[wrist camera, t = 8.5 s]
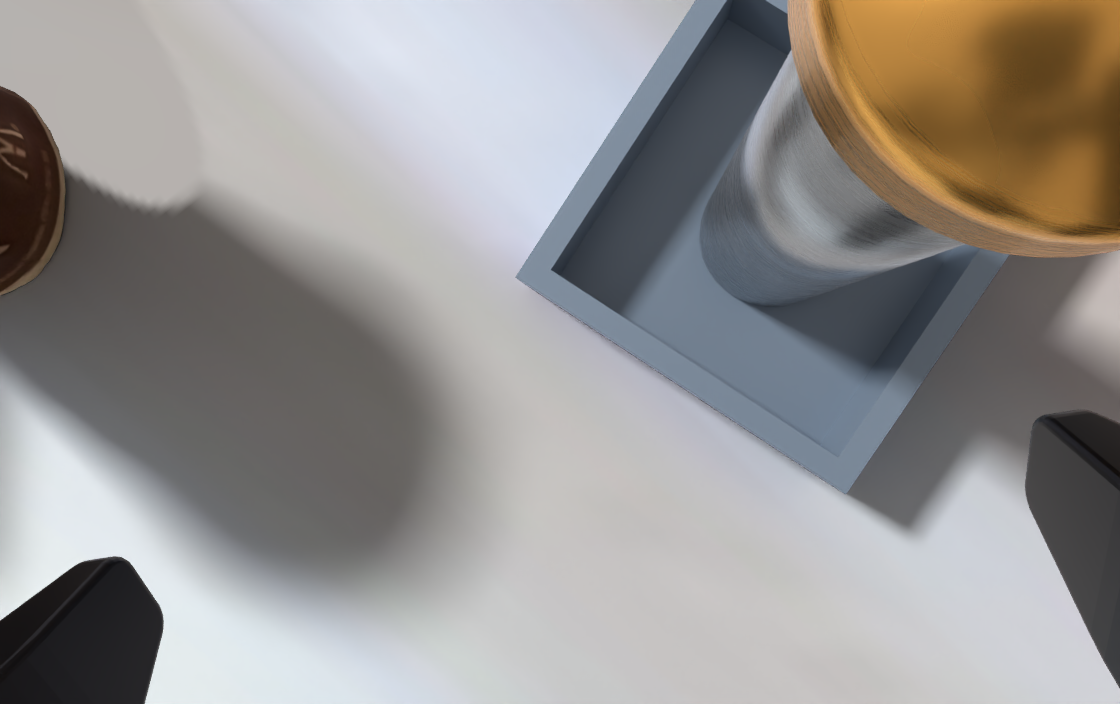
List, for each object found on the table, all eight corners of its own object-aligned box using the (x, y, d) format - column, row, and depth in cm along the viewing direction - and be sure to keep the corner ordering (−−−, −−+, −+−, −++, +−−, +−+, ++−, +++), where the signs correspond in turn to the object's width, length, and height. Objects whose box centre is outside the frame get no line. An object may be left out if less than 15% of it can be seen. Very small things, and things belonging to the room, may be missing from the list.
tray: (1020, 181, 20) (1076, 156, 18) (819, 477, 20) (845, 494, 18) (717, -4, 21) (730, -53, 18) (528, 286, 21) (515, 277, 19)
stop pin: (902, 207, 20) (1673, -218, 5) (798, 362, 20) (1274, 357, 5) (745, 109, 20) (1069, -546, 6) (643, 261, 20) (705, 4, 6)
